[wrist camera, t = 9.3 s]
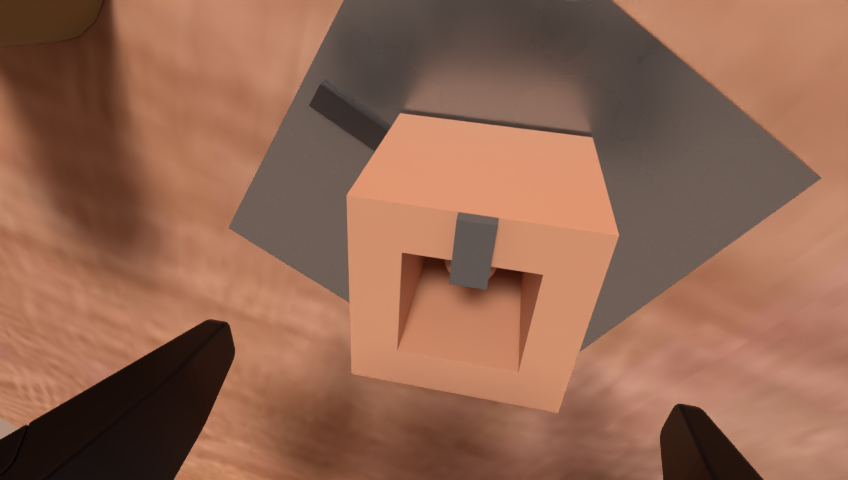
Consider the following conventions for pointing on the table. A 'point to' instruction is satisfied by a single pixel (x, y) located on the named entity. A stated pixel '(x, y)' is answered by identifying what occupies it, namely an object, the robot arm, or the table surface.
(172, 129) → the table surface
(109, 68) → the table surface
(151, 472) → the robot arm
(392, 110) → the grey square base plate
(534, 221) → the hollow block with latch
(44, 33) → the cork
